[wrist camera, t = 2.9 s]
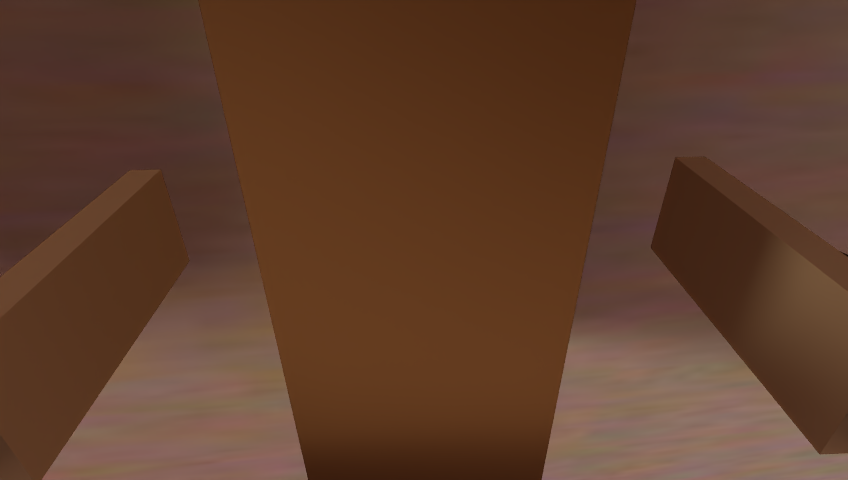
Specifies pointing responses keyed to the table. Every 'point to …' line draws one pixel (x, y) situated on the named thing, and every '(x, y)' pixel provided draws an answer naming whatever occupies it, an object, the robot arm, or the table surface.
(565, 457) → the table surface
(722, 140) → the table surface
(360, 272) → the door
